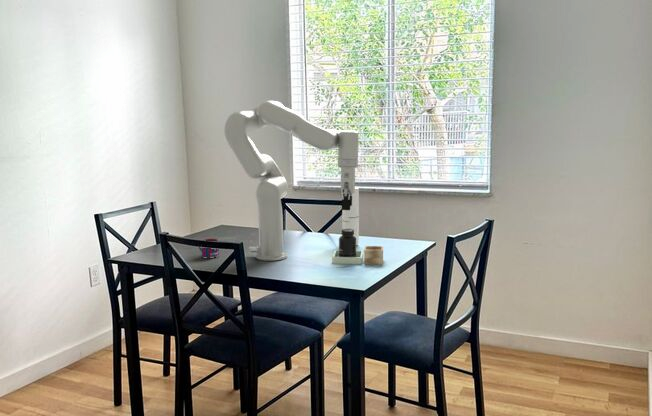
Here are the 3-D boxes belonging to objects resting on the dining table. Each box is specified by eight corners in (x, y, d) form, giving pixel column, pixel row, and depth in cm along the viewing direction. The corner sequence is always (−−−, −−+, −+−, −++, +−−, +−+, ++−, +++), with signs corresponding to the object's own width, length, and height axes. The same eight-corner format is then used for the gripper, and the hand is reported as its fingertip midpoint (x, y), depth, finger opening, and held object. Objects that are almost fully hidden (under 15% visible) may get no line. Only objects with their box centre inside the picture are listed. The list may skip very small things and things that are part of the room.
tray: (332, 264, 233) (332, 257, 232) (335, 257, 244) (335, 250, 243) (361, 265, 232) (361, 257, 231) (363, 258, 243) (363, 250, 242)
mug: (208, 259, 242) (207, 242, 241) (194, 255, 249) (193, 239, 248) (222, 256, 246) (221, 240, 245) (208, 252, 254) (207, 236, 252)
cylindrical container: (358, 246, 263) (359, 188, 259) (342, 246, 263) (342, 188, 259) (358, 243, 270) (358, 186, 266) (342, 243, 270) (342, 186, 266)
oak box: (364, 265, 232) (364, 249, 231) (364, 260, 239) (365, 245, 238) (382, 265, 231) (382, 250, 230) (383, 261, 238) (383, 246, 237)
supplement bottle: (335, 260, 236) (335, 230, 234) (343, 257, 242) (343, 227, 240) (351, 263, 233) (351, 232, 231) (359, 258, 239) (359, 228, 237)
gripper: (356, 165, 223) (355, 212, 226) (358, 161, 240) (357, 204, 242) (335, 165, 223) (335, 211, 226) (339, 160, 240) (339, 203, 243)
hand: (346, 207), depth 234 cm, fingers open, 9 cm apart
